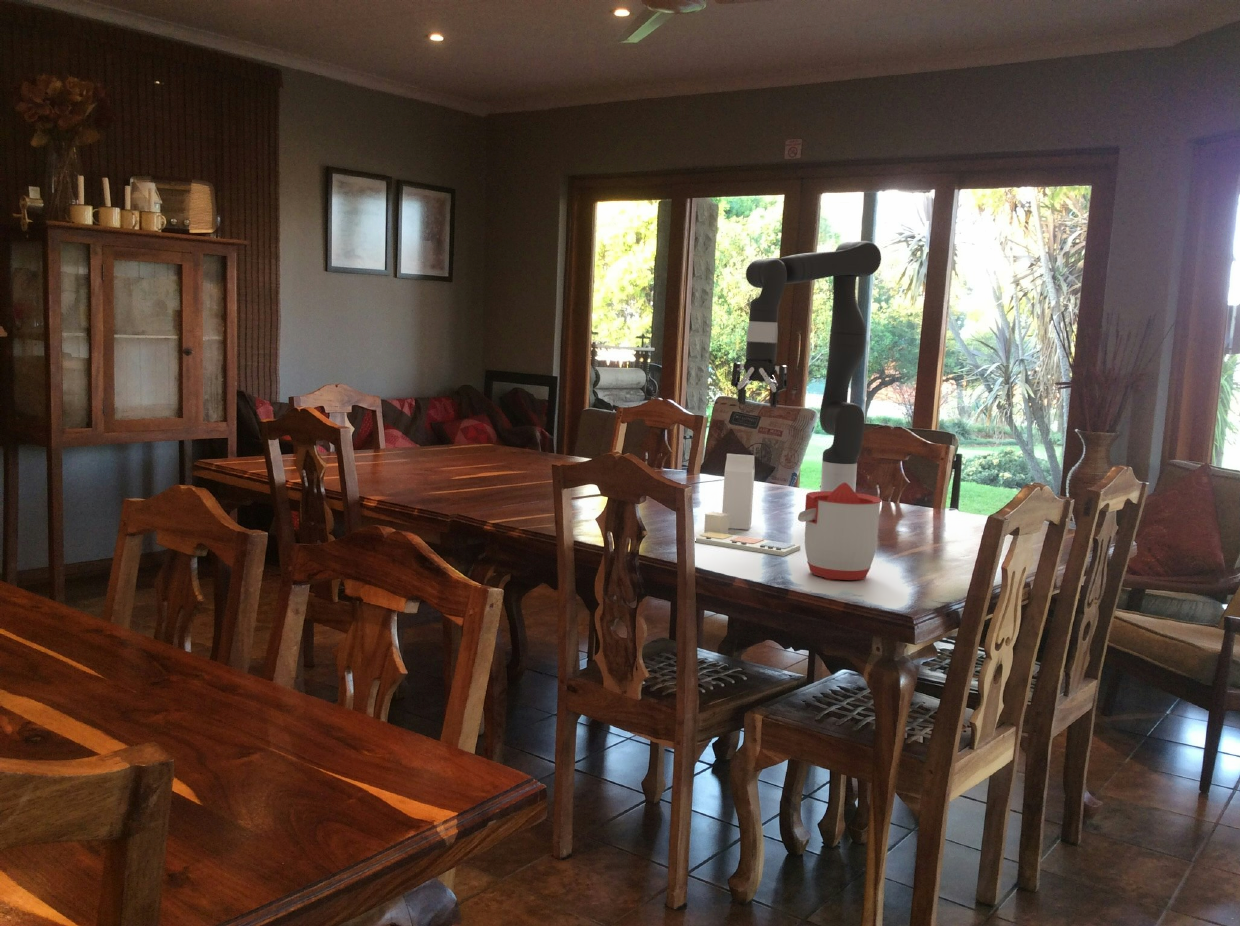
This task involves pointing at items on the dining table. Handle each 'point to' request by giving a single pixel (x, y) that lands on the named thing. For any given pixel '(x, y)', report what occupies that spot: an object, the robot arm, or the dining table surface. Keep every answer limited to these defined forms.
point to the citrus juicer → (840, 532)
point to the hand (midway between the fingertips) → (757, 405)
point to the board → (747, 543)
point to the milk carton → (738, 490)
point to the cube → (716, 522)
